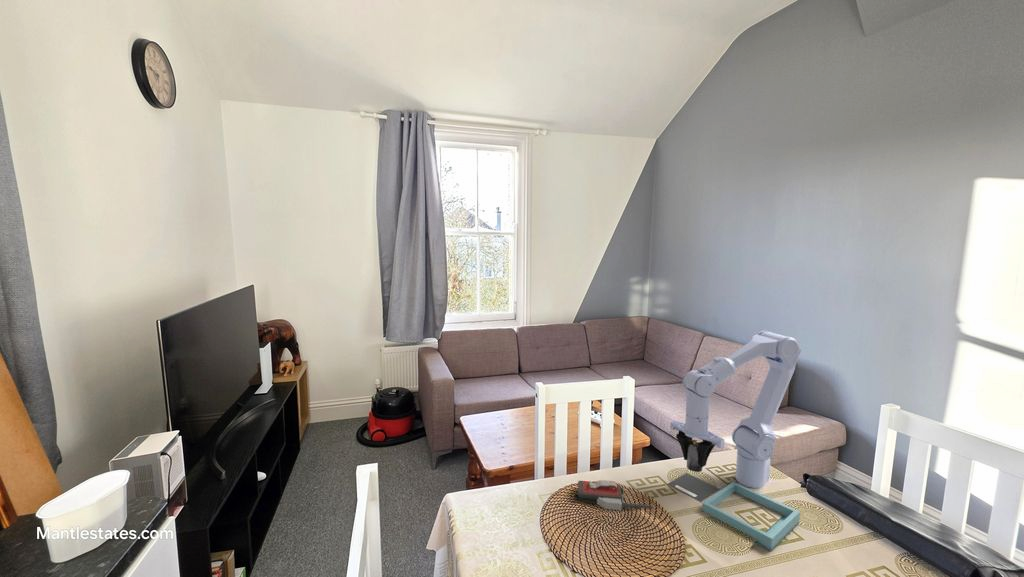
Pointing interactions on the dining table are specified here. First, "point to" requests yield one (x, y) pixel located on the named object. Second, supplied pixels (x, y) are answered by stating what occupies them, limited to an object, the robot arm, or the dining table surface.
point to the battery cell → (693, 456)
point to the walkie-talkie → (604, 495)
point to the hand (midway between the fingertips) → (694, 462)
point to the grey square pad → (693, 487)
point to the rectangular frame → (763, 538)
